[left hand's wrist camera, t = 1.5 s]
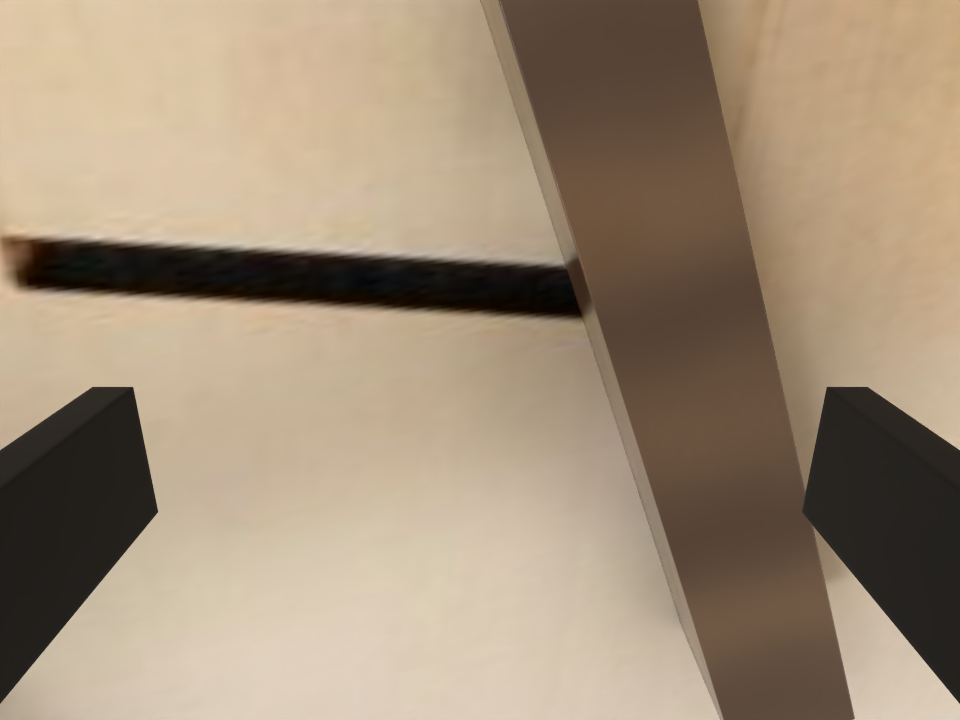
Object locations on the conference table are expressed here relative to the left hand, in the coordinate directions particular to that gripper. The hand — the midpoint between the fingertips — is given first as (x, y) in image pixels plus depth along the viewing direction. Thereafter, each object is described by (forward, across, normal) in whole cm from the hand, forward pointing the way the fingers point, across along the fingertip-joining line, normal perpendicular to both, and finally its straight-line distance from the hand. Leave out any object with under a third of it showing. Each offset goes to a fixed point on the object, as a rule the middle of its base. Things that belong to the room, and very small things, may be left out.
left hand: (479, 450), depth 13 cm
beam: (+18, 0, -18) cm, 26 cm away
